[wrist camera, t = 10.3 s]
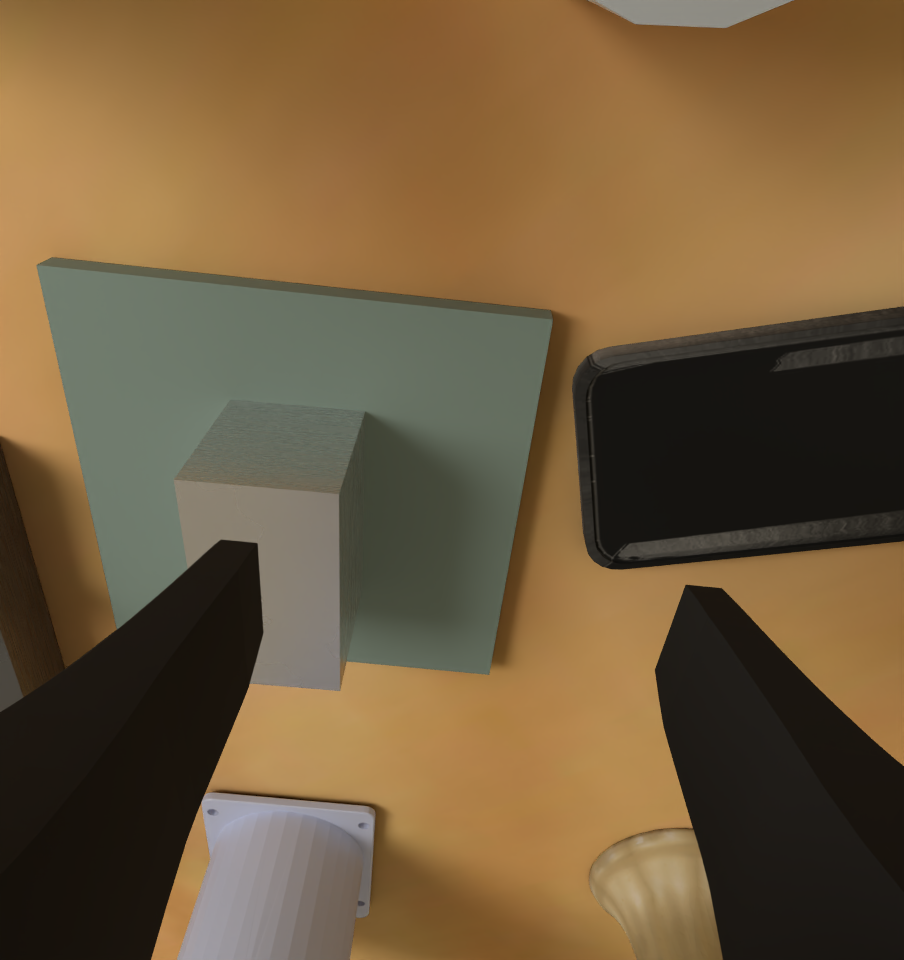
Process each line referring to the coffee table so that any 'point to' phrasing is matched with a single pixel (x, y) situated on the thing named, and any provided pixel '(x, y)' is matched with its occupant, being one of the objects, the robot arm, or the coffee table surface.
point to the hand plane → (21, 608)
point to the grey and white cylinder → (688, 11)
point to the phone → (743, 442)
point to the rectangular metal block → (286, 526)
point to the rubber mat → (318, 383)
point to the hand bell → (659, 895)
